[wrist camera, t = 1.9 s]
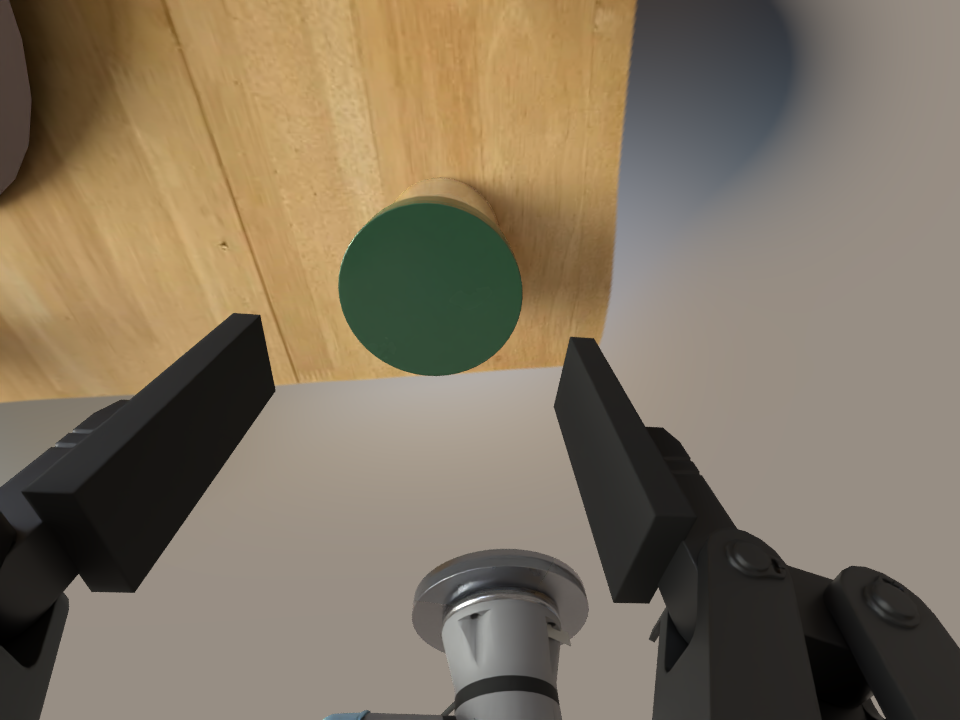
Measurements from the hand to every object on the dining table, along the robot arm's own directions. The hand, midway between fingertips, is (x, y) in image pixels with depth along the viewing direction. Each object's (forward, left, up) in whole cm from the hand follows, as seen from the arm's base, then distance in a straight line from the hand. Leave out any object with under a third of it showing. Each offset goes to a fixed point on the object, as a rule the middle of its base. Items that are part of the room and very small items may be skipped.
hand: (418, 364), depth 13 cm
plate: (+6, +36, -17) cm, 40 cm away
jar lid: (0, 0, -6) cm, 6 cm away
